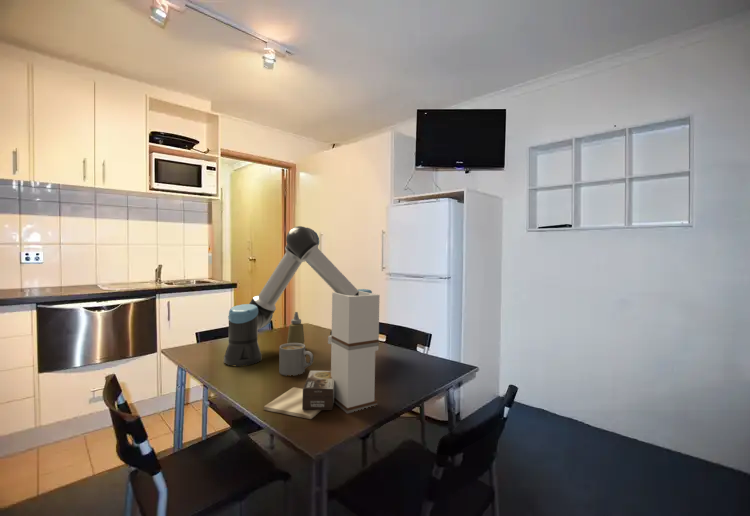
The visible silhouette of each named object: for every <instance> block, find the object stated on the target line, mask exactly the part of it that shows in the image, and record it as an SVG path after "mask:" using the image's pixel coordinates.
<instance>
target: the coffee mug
mask: <svg viewBox="0 0 750 516" xmlns="http://www.w3.org/2000/svg"><path fill="white" fill-rule="evenodd" d="M278 351H279V356H278V357H279V361H278V362H279V365H278V371H279V372H278V373H279V374H280V375H282V376H287V375H290V377H291V375H293V376H299V375H301V374H304V373H305V372H306V368H308V367H311V365H313V363H314V355H313V353H312V352H311V351H309V350H306V345H305V343H304V344H302V343H283V344H281V345H279V350H278ZM306 356H309V357H308V358H309V362H308V361H307V359H306ZM303 372H304V373H303ZM298 374H299V375H298Z"/></svg>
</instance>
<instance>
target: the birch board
mask: <svg viewBox="0 0 750 516" xmlns="http://www.w3.org/2000/svg"><path fill="white" fill-rule="evenodd" d="M302 399H303V388H301V387H300V388H299V387H292V388H290V389H289V390H287V391H285V392H284V393H282V394H281V395H279V396H278V397H276V398H274V399H273V400H272V401H270V402H268V403H267V404H265V405H264V406H263V410H264V411H268V412H272V413H280V414H283V415H288V416H293V417H297V418H302V419H303V418H304V419H308V420H312V419H313V418H314V417H316V415H318V414H319V413H320V412H321V411H322V410H302Z"/></svg>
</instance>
